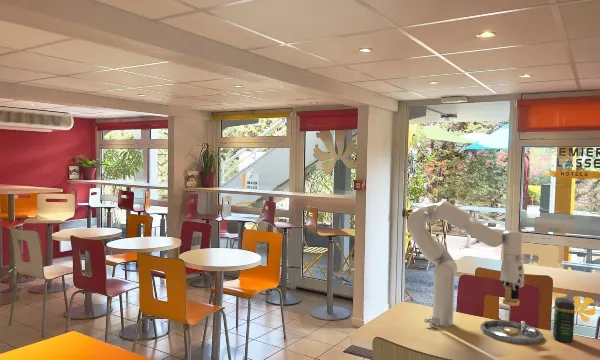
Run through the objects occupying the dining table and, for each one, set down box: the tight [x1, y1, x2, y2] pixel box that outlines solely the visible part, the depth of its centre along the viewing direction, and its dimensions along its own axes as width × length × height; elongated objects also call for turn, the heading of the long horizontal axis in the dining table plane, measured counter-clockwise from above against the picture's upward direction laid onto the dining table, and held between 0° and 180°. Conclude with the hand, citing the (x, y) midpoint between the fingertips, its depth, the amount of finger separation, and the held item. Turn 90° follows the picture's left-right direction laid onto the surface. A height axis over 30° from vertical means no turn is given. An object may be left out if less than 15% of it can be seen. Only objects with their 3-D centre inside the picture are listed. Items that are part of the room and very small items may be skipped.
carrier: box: [480, 319, 544, 345], centre depth 214 cm, size 25×25×6 cm
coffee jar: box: [552, 297, 576, 343], centre depth 213 cm, size 10×8×19 cm
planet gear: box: [502, 284, 520, 307], centre depth 213 cm, size 7×7×8 cm
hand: (511, 297), depth 213 cm, fingers closed on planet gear, 3 cm apart
